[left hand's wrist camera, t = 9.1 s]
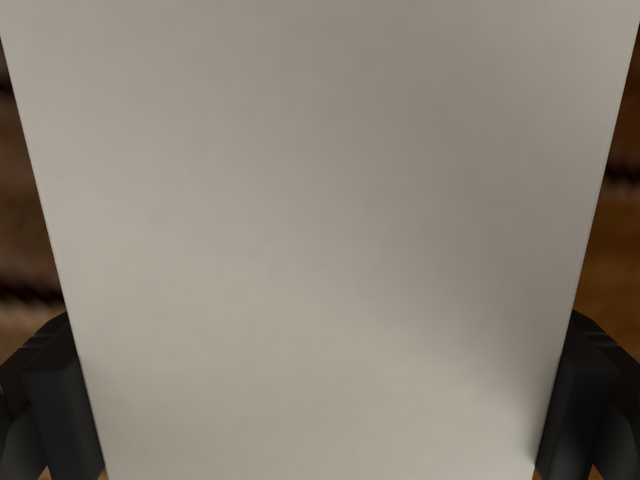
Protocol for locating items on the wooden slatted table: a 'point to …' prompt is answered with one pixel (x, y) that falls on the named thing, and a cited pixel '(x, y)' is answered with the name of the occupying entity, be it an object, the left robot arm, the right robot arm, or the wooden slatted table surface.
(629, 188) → the wooden slatted table surface
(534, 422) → the thick board
